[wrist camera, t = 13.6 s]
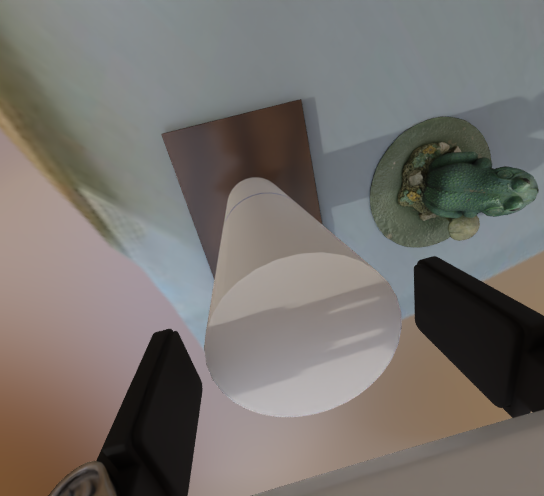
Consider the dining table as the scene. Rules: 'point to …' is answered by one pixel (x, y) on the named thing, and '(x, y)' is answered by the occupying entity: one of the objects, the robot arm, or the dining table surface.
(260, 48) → the dining table surface
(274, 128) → the board
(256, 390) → the cylindrical container
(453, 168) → the frog figurine
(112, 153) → the dining table surface
